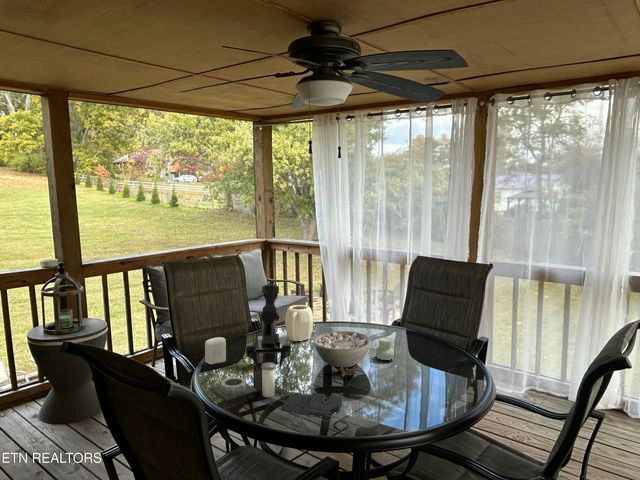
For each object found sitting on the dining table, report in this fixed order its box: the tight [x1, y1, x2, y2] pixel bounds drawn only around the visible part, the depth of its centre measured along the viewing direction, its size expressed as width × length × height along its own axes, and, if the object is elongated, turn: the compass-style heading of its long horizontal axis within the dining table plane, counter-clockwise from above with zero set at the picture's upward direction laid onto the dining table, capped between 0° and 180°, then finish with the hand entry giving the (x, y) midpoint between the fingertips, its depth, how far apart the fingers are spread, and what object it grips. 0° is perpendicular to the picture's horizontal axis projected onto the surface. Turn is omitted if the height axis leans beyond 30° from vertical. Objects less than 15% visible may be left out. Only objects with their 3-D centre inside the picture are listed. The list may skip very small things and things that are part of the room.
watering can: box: [284, 301, 314, 342], centre depth 254 cm, size 16×27×19 cm, turn 163°
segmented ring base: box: [210, 376, 258, 402], centre depth 185 cm, size 14×14×4 cm
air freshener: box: [375, 337, 395, 361], centre depth 223 cm, size 11×8×10 cm
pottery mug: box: [339, 364, 357, 376], centre depth 203 cm, size 12×9×8 cm
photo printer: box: [204, 336, 227, 365], centre depth 216 cm, size 10×4×12 cm, turn 123°
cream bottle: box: [260, 362, 277, 398], centre depth 181 cm, size 6×6×12 cm
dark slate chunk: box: [281, 391, 343, 417], centre depth 171 cm, size 15×22×5 cm
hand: (268, 369), depth 183 cm, fingers open, 9 cm apart
